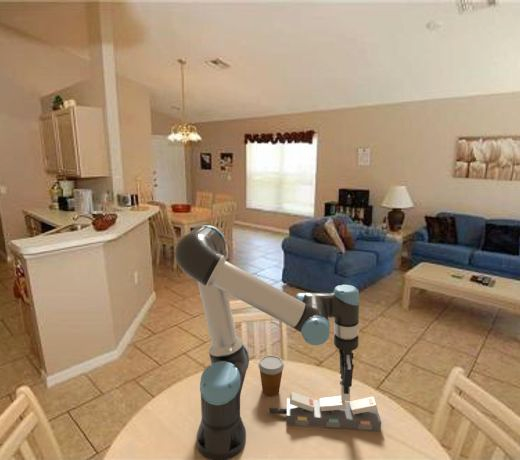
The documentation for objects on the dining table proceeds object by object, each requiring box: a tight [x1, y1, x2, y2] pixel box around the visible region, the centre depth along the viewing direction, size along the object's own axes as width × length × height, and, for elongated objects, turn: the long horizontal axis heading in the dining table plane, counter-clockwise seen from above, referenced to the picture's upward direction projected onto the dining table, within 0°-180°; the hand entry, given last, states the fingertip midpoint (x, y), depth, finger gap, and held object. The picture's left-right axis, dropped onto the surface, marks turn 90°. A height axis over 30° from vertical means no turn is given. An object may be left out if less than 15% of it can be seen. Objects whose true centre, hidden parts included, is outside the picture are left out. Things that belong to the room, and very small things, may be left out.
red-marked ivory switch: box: [289, 391, 315, 412], centre depth 114 cm, size 8×4×2 cm, turn 86°
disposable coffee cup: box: [257, 354, 285, 397], centre depth 127 cm, size 10×10×12 cm
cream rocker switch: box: [349, 396, 378, 415], centre depth 113 cm, size 8×4×2 cm, turn 85°
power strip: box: [268, 397, 382, 432], centre depth 114 cm, size 36×8×5 cm, turn 85°
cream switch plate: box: [319, 395, 346, 411], centre depth 113 cm, size 8×4×2 cm, turn 85°
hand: (345, 399), depth 113 cm, fingers closed
